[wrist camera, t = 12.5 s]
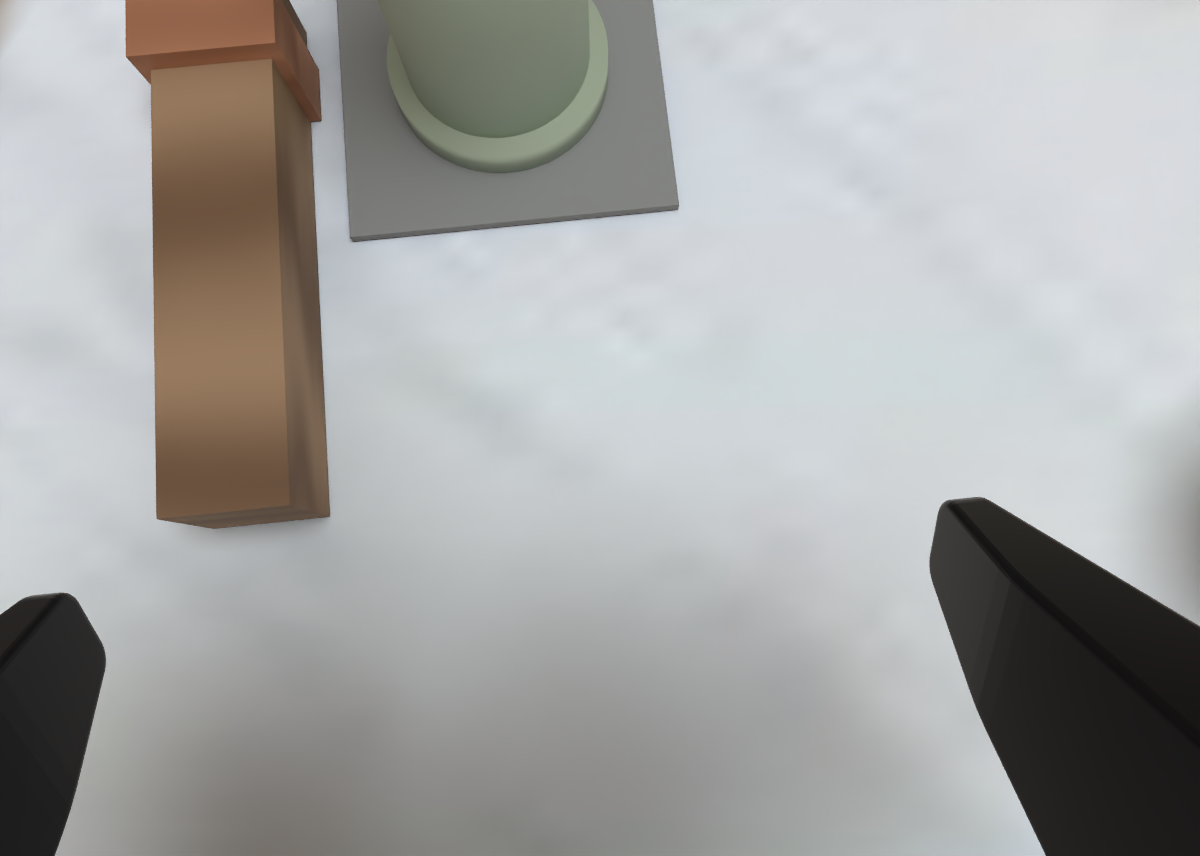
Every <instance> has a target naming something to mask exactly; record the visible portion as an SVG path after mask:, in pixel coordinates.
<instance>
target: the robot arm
mask: <svg viewBox="0 0 1200 856" xmlns="http://www.w3.org/2000/svg"><path fill="white" fill-rule="evenodd" d="M930 574H931V579H932V582H933V585H934V588H935V591H936V594H937V597H938V600H939V603H940V606H941V608H942V611H943V614H944V617H945V620H946V623H947V626H948V629H949V632H950V635H951V638H952V640H953V643H954V646H955V649H956V652H957V655H958V658H959V661H960V664H961V667H962V670H963V672H964V675H965V678H966V681H967V684H968V687H969V690H970V692H971V695H972V698H973V700H974V703H975V706H976V709H977V711H978V713H979V715H980V718H981V720H982V722H983V724H984V727H985V729H986V731H987V733H988V735H989V737H990V739H991V742H992V744H993V746H994V748H995V750H996V752H997V754H998V756H999V758H1000V760H1001V763H1002V765H1003V767H1004V769H1005V771H1006V773H1007V775H1008V777H1009V779H1010V781H1011V783H1012V786H1013V788H1014V790H1015V792H1016V794H1017V796H1018V798H1019V800H1020V802H1021V804H1022V806H1023V809H1024V811H1025V813H1026V815H1027V817H1028V819H1029V821H1030V823H1031V825H1032V827H1033V830H1034V832H1035V834H1036V836H1037V838H1038V840H1039V842H1040V844H1041V846H1042V848H1043V850H1044V853H1045V855H1046V856H1200V626H1198V625H1197V624H1195V623H1193V622H1192V621H1190V620H1188V619H1187V618H1185V617H1183V616H1182V615H1180V614H1178V613H1177V612H1175V611H1173V610H1172V609H1170V608H1168V607H1167V606H1165V605H1163V604H1162V603H1160V602H1158V601H1157V600H1155V599H1153V598H1152V597H1150V596H1148V595H1147V594H1145V593H1143V592H1142V591H1140V590H1138V589H1137V588H1135V587H1133V586H1132V585H1130V584H1128V583H1127V582H1125V581H1123V580H1122V579H1120V578H1118V577H1117V576H1115V575H1113V574H1112V573H1110V572H1108V571H1107V570H1105V569H1103V568H1102V567H1100V566H1098V565H1097V564H1095V563H1093V562H1092V561H1090V560H1088V559H1086V558H1085V557H1083V556H1081V555H1080V554H1078V553H1076V552H1075V551H1073V550H1071V549H1070V548H1068V547H1066V546H1065V545H1063V544H1061V543H1060V542H1058V541H1056V540H1055V539H1053V538H1051V537H1050V536H1048V535H1046V534H1045V533H1043V532H1041V531H1040V530H1038V529H1036V528H1035V527H1033V526H1031V525H1030V524H1028V523H1026V522H1025V521H1023V520H1021V519H1020V518H1018V517H1016V516H1015V515H1013V514H1011V513H1010V512H1008V511H1006V510H1005V509H1003V508H1001V507H1000V506H998V505H996V504H995V503H993V502H991V501H989V500H987V499H985V498H982V497H972V498H963V499H953V500H948V501H946V502H944V503H943V504H942V505H941V507H940V509H939V512H938V516H937V521H936V527H935V532H934V537H933V543H932V548H931V553H930ZM105 666H106V656H105V651H104V647H103V644H102V642H101V641H100V639H99V637H98V635H97V634H96V632H95V630H94V628H93V627H92V625H91V623H90V621H89V620H88V618H87V616H86V615H85V613H84V611H83V609H82V608H81V606H80V604H79V602H78V601H77V600H76V598H74V597H73V596H72V595H70V594H68V593H52V594H43V595H33V596H29V597H26V598H23V599H22V600H20V601H18V602H17V603H16V604H14V605H13V606H12V607H10V608H9V609H8V610H6V611H5V612H3V613H2V614H1V615H0V856H55V853H56V851H57V848H58V845H59V842H60V839H61V837H62V834H63V831H64V828H65V825H66V822H67V819H68V816H69V813H70V810H71V806H72V803H73V799H74V795H75V792H76V788H77V785H78V780H79V776H80V772H81V768H82V764H83V760H84V755H85V751H86V747H87V743H88V739H89V735H90V730H91V726H92V722H93V718H94V714H95V710H96V706H97V701H98V697H99V693H100V689H101V685H102V681H103V676H104V672H105Z"/></svg>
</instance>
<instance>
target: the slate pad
mask: <svg viewBox="0 0 1200 856" xmlns="http://www.w3.org/2000/svg"><path fill="white" fill-rule="evenodd" d="M592 1H593V3H594V4H595V6H596V7H597V9H598V11H599V14H600V16H601V18H602V20H603V23H604V27H605V30H606V34H607V41H608V84H607V91H606V95H605V99H604V102H603V105H602V108H601V110H600V112H599V114H598V116H597V118H596V120H595V121H594V123H593V125H592V126H591V128H590V129H589V130H588V131H587V133H586V134H585V135H584V136H583V137H582V139H581V140H580V141H578V142H577V143H576V144H575V145H574V146H573V147H572V148H571V149H569V150H568V151H566V152H565V153H564V154H562V155H561V156H559V157H557V158H555V159H553V160H552V161H550V162H548V163H545V164H543V165H540V166H537V167H535V168H531V169H527V170H523V171H518V172H510V173H488V172H481V171H475V170H471V169H467V168H464V167H461V166H459V165H456V164H454V163H451V162H449V161H447V160H446V159H444V158H442V157H440V156H438V155H437V154H436V153H434V152H433V151H432V150H430V149H429V148H428V147H427V146H426V145H425V144H424V143H423V142H422V141H421V140H420V139H419V138H418V137H417V136H416V135H415V133H414V132H413V131H412V129H411V128H410V126H409V125H408V123H407V121H406V119H405V118H404V115H403V113H402V111H401V108H400V106H399V104H398V101H397V99H396V97H395V94H394V92H393V89H392V87H391V84H390V79H389V75H388V69H387V45H388V40H389V35H390V30H389V28H388V25H387V22H386V20H385V17H384V15H383V12H382V10H381V7H380V4H379V2H378V0H337V13H338V30H339V48H340V66H341V84H342V102H343V119H344V137H345V155H346V173H347V191H348V208H349V226H350V238H351V239H352V241H363V240H373V239H383V238H394V237H404V236H414V235H424V234H434V233H444V232H454V231H464V230H475V229H485V228H495V227H505V226H515V225H525V224H535V223H546V222H556V221H566V220H576V219H586V218H596V217H606V216H617V215H627V214H637V213H647V212H657V211H667V210H677V209H678V207H679V201H678V193H677V185H676V178H675V170H674V162H673V155H672V147H671V139H670V131H669V124H668V116H667V108H666V100H665V93H664V85H663V77H662V70H661V62H660V54H659V46H658V39H657V31H656V23H655V15H654V8H653V0H592Z"/></svg>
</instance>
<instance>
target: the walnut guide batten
mask: <svg viewBox="0 0 1200 856" xmlns="http://www.w3.org/2000/svg"><path fill="white" fill-rule="evenodd" d="M126 57H127V58H128V60H129V61H130V62H131V63H132V64H133V65H134V66H135V67H136V69H137V70H138V71H139V72H140V73H141V74H142V75H143V77H144V78H145V79H146V80H147V81H148V82H149V83H150V84H151V122H152V200H153V278H154V356H155V434H156V512H157V519H159V520H165V521H171V522H177V523H183V524H189V525H195V526H201V527H207V528H213V529H215V528H225V527H234V526H244V525H253V524H263V523H273V522H282V521H292V520H301V519H311V518H320V517H330V510H329V489H328V469H327V448H326V428H325V407H324V387H323V366H322V346H321V325H320V305H319V284H318V263H317V243H316V222H315V202H314V181H313V161H312V140H311V122H312V121H321V107H320V87H319V69H318V67H317V66H316V64H315V62H314V60H313V58H312V56H311V54H310V53H309V51H308V49H307V38H306V31H305V29H304V28H303V26H302V24H301V22H300V20H299V18H298V16H297V14H296V12H295V10H294V9H293V7H292V5H291V3H290V1H289V0H126Z"/></svg>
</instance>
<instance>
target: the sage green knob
mask: <svg viewBox="0 0 1200 856" xmlns="http://www.w3.org/2000/svg"><path fill="white" fill-rule="evenodd" d="M378 2H379V4H380V7H381V10H382V12H383V15H384V17H385V20H386V22H387V25H388V28H389V30H390V35H389V40H388V45H387V69H388V75H389V79H390V84H391V87H392V89H393V92H394V94H395V97H396V99H397V101H398V104H399V106H400V108H401V111H402V113H403V115H404V118H405V119H406V121H407V123H408V125H409V126H410V128H411V129H412V131H413V132H414V133H415V135H416V136H417V137H418V138H419V139H420V140H421V141H422V142H423V143H424V144H425V145H426V146H427V147H428V148H429V149H430V150H432V151H433V152H434V153H436V154H437V155H438V156H440V157H442V158H444V159H446V160H447V161H449V162H451V163H454V164H456V165H459V166H461V167H464V168H467V169H471V170H475V171H481V172H488V173H510V172H518V171H523V170H527V169H531V168H535V167H537V166H540V165H543V164H545V163H548V162H550V161H552V160H553V159H555V158H557V157H559V156H561V155H562V154H564V153H565V152H566V151H568V150H569V149H571V148H572V147H573V146H574V145H575V144H576V143H577V142H578V141H580V140H581V139H582V137H583V136H584V135H585V134H586V133H587V131H588V130H589V129H590V128H591V126H592V125H593V123H594V121H595V120H596V118H597V116H598V114H599V112H600V110H601V108H602V105H603V102H604V99H605V95H606V91H607V84H608V41H607V34H606V30H605V27H604V23H603V20H602V18H601V16H600V14H599V11H598V9H597V7H596V6H595V4H594V3H593V1H592V0H378Z"/></svg>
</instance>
